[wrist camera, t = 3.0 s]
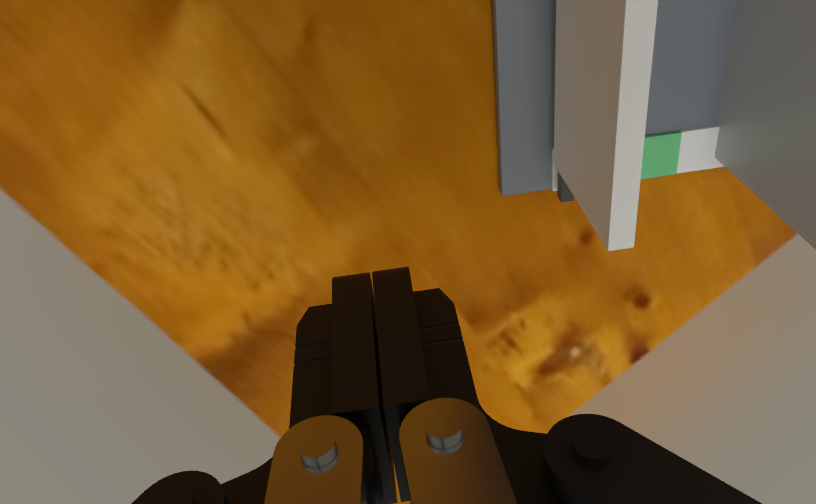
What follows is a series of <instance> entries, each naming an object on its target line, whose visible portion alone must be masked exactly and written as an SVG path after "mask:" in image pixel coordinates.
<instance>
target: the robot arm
mask: <svg viewBox="0 0 816 504" xmlns="http://www.w3.org/2000/svg"><path fill="white" fill-rule="evenodd" d="M372 276H373V288H374V294H373V288H372V282H371V277H370V273H369V272H368V273H361V274H355V275H348V276H341V277H334V278H332V304H326V305H320V306H313V307H309V308H308V309H307V311H306V312H305V314H304V316H303V317H302V319H301V320H300V322H299V323H298V325H297V331H296V344H295V346H296V350H295V358H294V363H295V366H294V372H293V385H292V399H291V412H290V426H289V430H288V431H287V432H286V433H285V434H284V435H283V436H282V437H281V438H280V440H279V441H278V443H277V445H276V447H275V451H274V454H273V457H272V458H271V459H269V460H268V461H267V462H266V463H264V464H263V465H261V466H260V467H258V468H257V469H255V470H253V471H250V472H249V473H246V474H244V475H242V476H239V477H237V478H234V479H232V480H230V481H228V482H225V483H223V484H221V485H220V483H219V482H218V481H217V479H216V478H214V477H213V476H212V475H209V474H207V473H205V472H200V471H183V472H179V473H175V474H172V475H170V476H167V477H165V478H163V479H161V480H159V481H158V482H156V483H155V484H153V485H152V486H150V487H149V488H148V489H147V490H146V491H144V492H143V493H142V494H141V495H140V496H139V497H138V498H137V499H136V500H135V501H134V502H133V503H132V504H392V503H397V495H396V484H395V473H394V466H395V471H396V477H397V482H398V488H399V493H400V498H401V502H404V501H410V503H411V504H762V503H760V502H758V501H756V500H754V499H753V498H751V497H749V496H747V495H746V494H744V493H742V492H740V491H739V490H737V489H735V488H733V487H732V486H730V485H728V484H726V483H725V482H723V481H721V480H719V479H718V478H716V477H714V476H712V475H711V474H709V473H707V472H705V471H703V470H702V469H700V468H698V467H697V466H695V465H693V464H691V463H690V462H688V461H686V460H684V459H683V458H681V457H679V456H677V455H676V454H674V453H672V452H670V451H669V450H667V449H665V448H663V447H662V446H660V445H658V444H656V443H654V442H653V441H651V440H649V439H648V438H646V437H644V436H642V435H640V434H639V433H637V432H635V431H634V430H632V429H630V428H628V427H627V426H625V425H623V424H621V423H620V422H618V421H615V420H613V419H611V418H608V417H605V416H601V415H596V414H578V415H573V416H570V417H567V418H564V419H562V420H561V421H559V422H557V423H556V424H555V425H554V426H553V427H552V428H551V429H550V430H549V432H548V434H543V433H535V432H527V431H521V430H515V429H512V428H509V427H506V426H504V425H502V424H500V423H498V422H497V421H495V420H493V419H492V418H491V417H490V416H489V415H487V414H486V412H485V411H484V410H483V409H482V407H481V405H480V404H479V401H478V398H477V394H476V390H475V386H474V382H473V378H472V374H471V370H470V366H469V362H468V358H467V354H466V350H465V346H464V342H463V339H462V334H461V330H460V326H459V322H458V318H457V314H456V310H455V306H454V303H453V302H452V301H451V300H450V299H449V298H448V297H447V296H446V295H445V294H444V293H443V292H442V291H441V290H440V289H439V288H436V289H429V290H422V291H415V292H413V290H412V284H411V278H410V272H409V267H402V268H395V269H388V270H381V271H374V272H372ZM393 461H394V462H393Z"/></svg>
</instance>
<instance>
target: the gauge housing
mask: <svg viewBox="0 0 816 504" xmlns="http://www.w3.org/2000/svg"><path fill="white" fill-rule="evenodd" d="M492 6H493V33H494V60H495V86H496V113H497V140H498V166H499V189H500V192H501V194H502V196H507V195H514V194H521V193H528V192H535V191H542V190H548V189H552V191H557V190H558V170H557V168H556V167H555V165H554V113H555V47H556V0H492ZM718 167H726V168H727V169H728V170H729V171H730V172H731V173H733V174H734V175H735V176H736V177H737V178H738V179H739V180H740V181H741V182H742V183H743V184H745V185H746V186H747V187H748V188H749V189H750V190H751V191H752V192H753V193H754V194H756V195H757V196H758V197H759V198H760V199H761V200H762V201H763V202H764V203H765V204H766V205H768V206H769V207H770V208H771V209H772V210H773V211H774V212H775V213H776V214H777V215H778V216H780V217H781V218H782V219H783V220H784V221H785V222H786V223H787V224H788V225H789V226H791V227H792V228H793V229H794V230H795V231H796V232H797V233H798V234H799V235H800V236H801V237H803V238H804V239H805V240H806V241H807V242H808V243H809V244H810V245H811V246H812V247H813V248H815V249H816V0H658V7H657V17H656V27H655V37H654V48H653V58H652V68H651V78H650V88H649V98H648V108H647V118H646V129H645V139H644V149H643V159H642V169H641V179H646V178H653V177H660V176H666V175H673V174H677V173H684V172H690V171H697V170H704V169H711V168H718Z"/></svg>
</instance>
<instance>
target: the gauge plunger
mask: <svg viewBox="0 0 816 504" xmlns="http://www.w3.org/2000/svg"><path fill="white" fill-rule="evenodd" d="M657 7H658V0H556V47H555V113H554V165H555V167H556V168H557V170H558V190H557V196H558V198H559V200H560V201H561V202H565V201H572V200H574V197H575V199H576V200H577V202H578V204H579V205H580V207H581V209H582V210H583V212H584V213H585V215H586V217H587V218H588V220H589V221H590V223H591V225H592V226H593V228H594V229H595V231H596V233H597V234H598V236H599V237H600V239H601V241H602V242H603V244H604V246H605V247H606V249H607V250H608V251H613V250H619V249H626V248H633V247H634V240H635V230H636V220H637V209H638V199H639V189H640V179H641V169H642V159H643V149H644V139H645V129H646V118H647V108H648V98H649V88H650V78H651V68H652V58H653V48H654V37H655V27H656V17H657Z"/></svg>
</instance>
